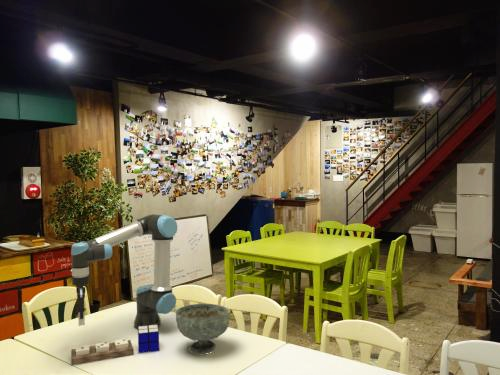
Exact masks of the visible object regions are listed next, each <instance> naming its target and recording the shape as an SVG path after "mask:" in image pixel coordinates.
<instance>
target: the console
mask: <svg viewBox="0 0 500 375" xmlns="http://www.w3.org/2000/svg"><path fill="white" fill-rule="evenodd" d="M127 340H128V345H129V347H128V348H122V349H116V350H115V341H114V342H108V343H109V351H104V352H98V353H96V349H95V345H91V346H90V345H89V354H86V355H80V356H76V348H72V349H70V358H71V361H70V363H71V364H70V365H71V366H77V365H83V364H88V363H94V362H101V361H106V360H111V359H117V358H124V357H129V356H134V354H135V352H134V346H133V344H132V341H131V339H127Z"/></svg>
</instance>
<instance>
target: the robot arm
mask: <svg viewBox="0 0 500 375" xmlns="http://www.w3.org/2000/svg"><path fill="white" fill-rule="evenodd" d="M177 232H178V222H177V220H176V219H174V217H172V216H170V215H166V214H154V213H153V214H148V215H146V216H143V217H141V218H138V219H135V220H133V221H132V223H129V224H128V225H126V226H123V227H120V228H117V229H115V230H113V231H110V232H107V233H105V234H103V235H101V236H97V237H95V238H92V239H90V240H87V241H80V242H77V243H73V244H72V245H71V252H70V255H71V269H70V272H71V276H72V277H71V284H72V286H75V287H76V286H77V287H76V289H75V290H76V291H75V292H76V297H77V303H78V304H77V305H78V306H77V308H78V309H77V311H76V314H77V313H78V317H77V318H78V319H77V320H78V326H80V327H81V326H85V325H86V322H85V321H86V320H85V313H86V312H85V311H86V307H85V298H86V287H85V286H86V285H88V284H90V276H89V275H90V266H89V265H90V263H91V262H97V261H105V260H108V259H111V258H112V256H113V248H112V247H114V246H117V245H120V244H122V243H124V242H127V241H129V240H131V239H133V238H136V237H143V236H146V235H151V241H152V242H154V258H153V261H154V265H153V266H154V267H153V269H154V270H153V284H146V285H140V286H138V287H137V288H136V292H135V294H136V315H135V319H134V322H133V328H135V329H136V330H138V327H140V326H149V325H158V326H159V327H160V326H161V325H162V320H161V317H160V314H162V315H166V314H169V313H171V312H172V311H173V310H174V308H175V307H176V303H177V298H176V296H175V294H174V293H173V287H172V286H171V285H170V284H171V283H170V282H171V281H170V280H171V242H172V241H173V240H174V237H175V235H176V233H177Z"/></svg>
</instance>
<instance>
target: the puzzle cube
mask: <svg viewBox="0 0 500 375" xmlns="http://www.w3.org/2000/svg"><path fill="white" fill-rule="evenodd" d="M137 346H138V348H137V350H138V354H143V353H145V354H146V353H152V352H159V351H160V329H159V327H158V325H149V326H140V327H138V329H137Z"/></svg>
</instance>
